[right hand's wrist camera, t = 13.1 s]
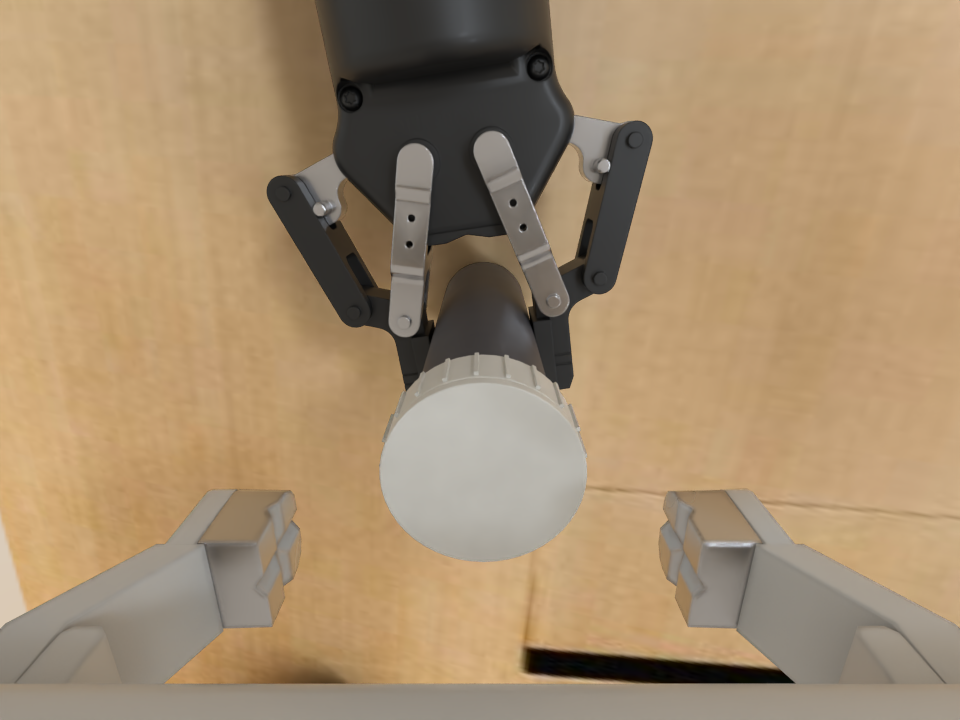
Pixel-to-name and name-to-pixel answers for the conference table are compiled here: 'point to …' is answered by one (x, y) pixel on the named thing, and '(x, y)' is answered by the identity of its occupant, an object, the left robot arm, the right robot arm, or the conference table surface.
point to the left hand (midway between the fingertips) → (493, 401)
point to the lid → (483, 459)
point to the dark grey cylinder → (483, 318)
